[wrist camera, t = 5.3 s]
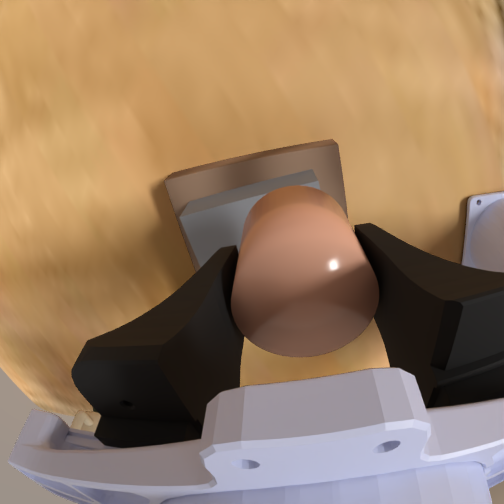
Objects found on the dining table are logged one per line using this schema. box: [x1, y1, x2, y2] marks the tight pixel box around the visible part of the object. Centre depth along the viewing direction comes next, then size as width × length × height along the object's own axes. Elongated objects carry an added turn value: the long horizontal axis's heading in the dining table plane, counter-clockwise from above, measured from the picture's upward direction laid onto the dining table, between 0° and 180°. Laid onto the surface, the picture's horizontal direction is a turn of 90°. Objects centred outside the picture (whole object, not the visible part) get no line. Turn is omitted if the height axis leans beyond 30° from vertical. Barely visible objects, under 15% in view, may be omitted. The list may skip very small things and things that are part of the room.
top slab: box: [180, 169, 320, 267], centre depth 20 cm, size 8×8×2 cm
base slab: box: [164, 139, 348, 272], centre depth 22 cm, size 11×11×2 cm
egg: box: [231, 185, 379, 357], centre depth 11 cm, size 4×4×4 cm
